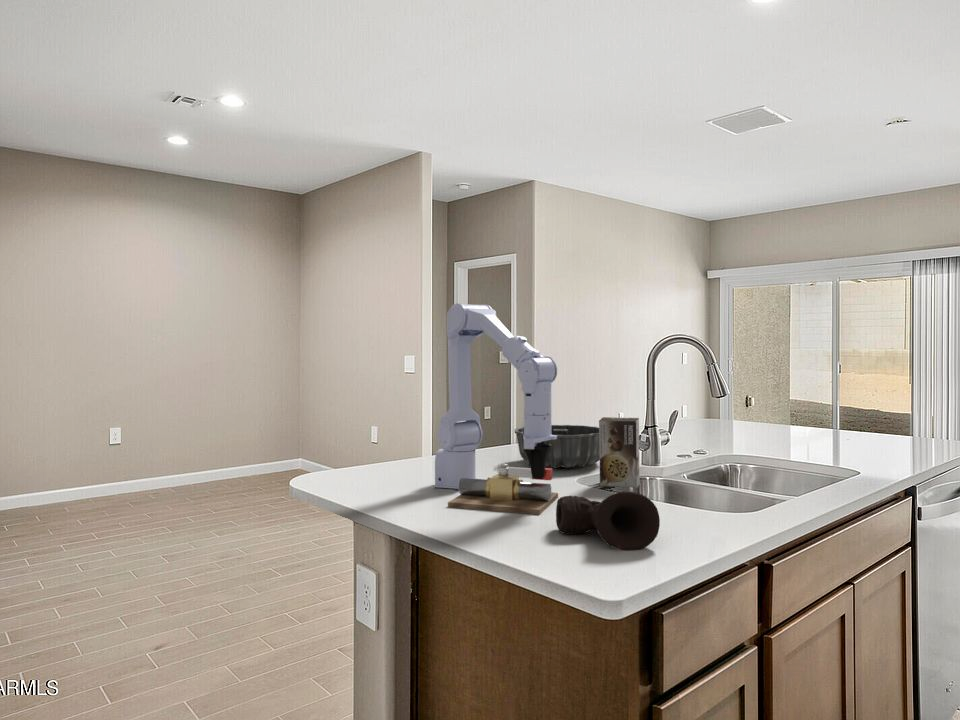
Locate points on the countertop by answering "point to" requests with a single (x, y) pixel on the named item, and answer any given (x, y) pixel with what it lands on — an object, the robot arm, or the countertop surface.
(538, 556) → the countertop surface
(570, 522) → the pipe
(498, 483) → the valve body
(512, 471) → the valve lever
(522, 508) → the mount board
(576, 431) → the bundt pan
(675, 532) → the countertop surface
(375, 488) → the countertop surface
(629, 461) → the coffee box
